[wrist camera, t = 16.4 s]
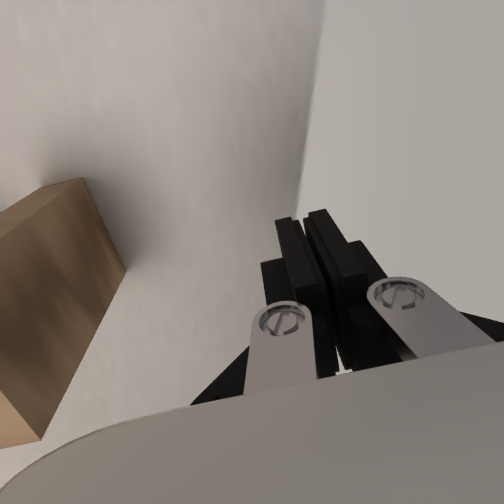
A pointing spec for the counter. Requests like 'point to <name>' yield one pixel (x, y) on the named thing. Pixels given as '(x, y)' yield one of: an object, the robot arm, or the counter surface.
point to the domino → (49, 301)
